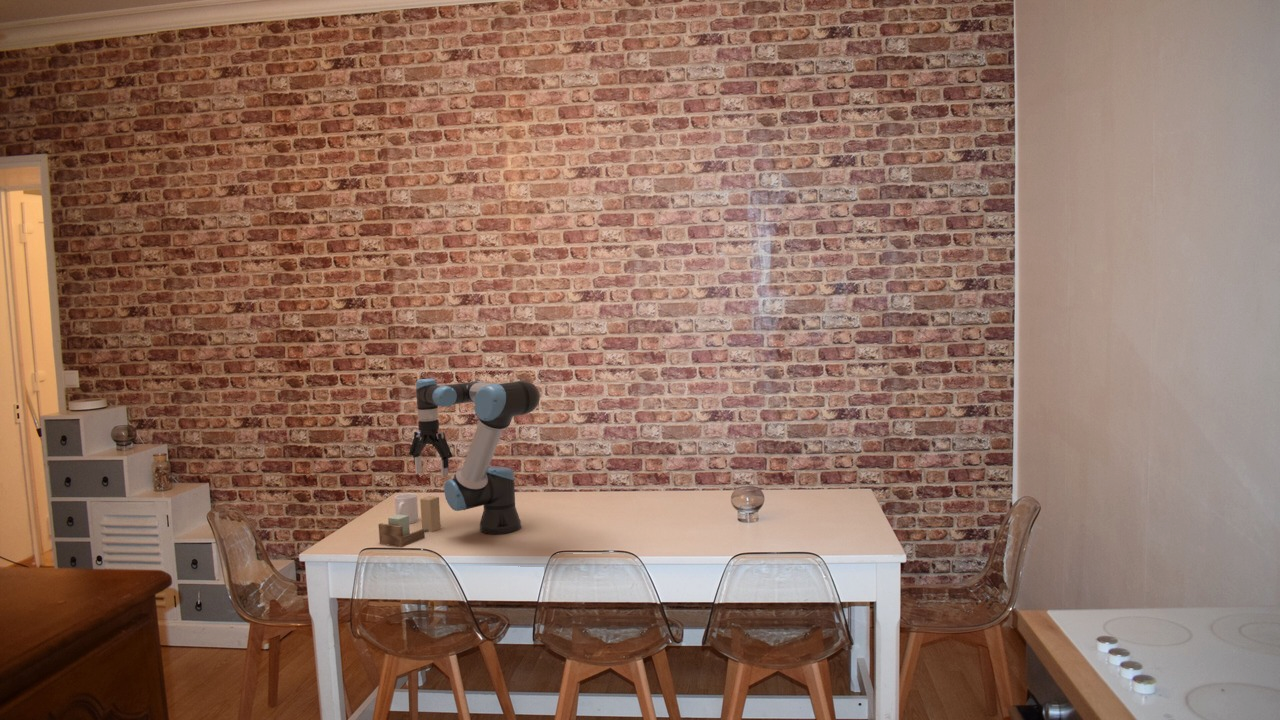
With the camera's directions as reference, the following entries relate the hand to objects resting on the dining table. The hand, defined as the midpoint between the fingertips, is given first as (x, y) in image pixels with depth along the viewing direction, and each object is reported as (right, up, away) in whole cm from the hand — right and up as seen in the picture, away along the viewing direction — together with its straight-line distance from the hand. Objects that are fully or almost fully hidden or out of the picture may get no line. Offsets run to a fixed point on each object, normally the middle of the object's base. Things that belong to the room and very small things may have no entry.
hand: (431, 475), depth 315 cm
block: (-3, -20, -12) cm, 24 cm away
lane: (-6, -21, -18) cm, 28 cm away
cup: (-11, -20, +6) cm, 23 cm away
